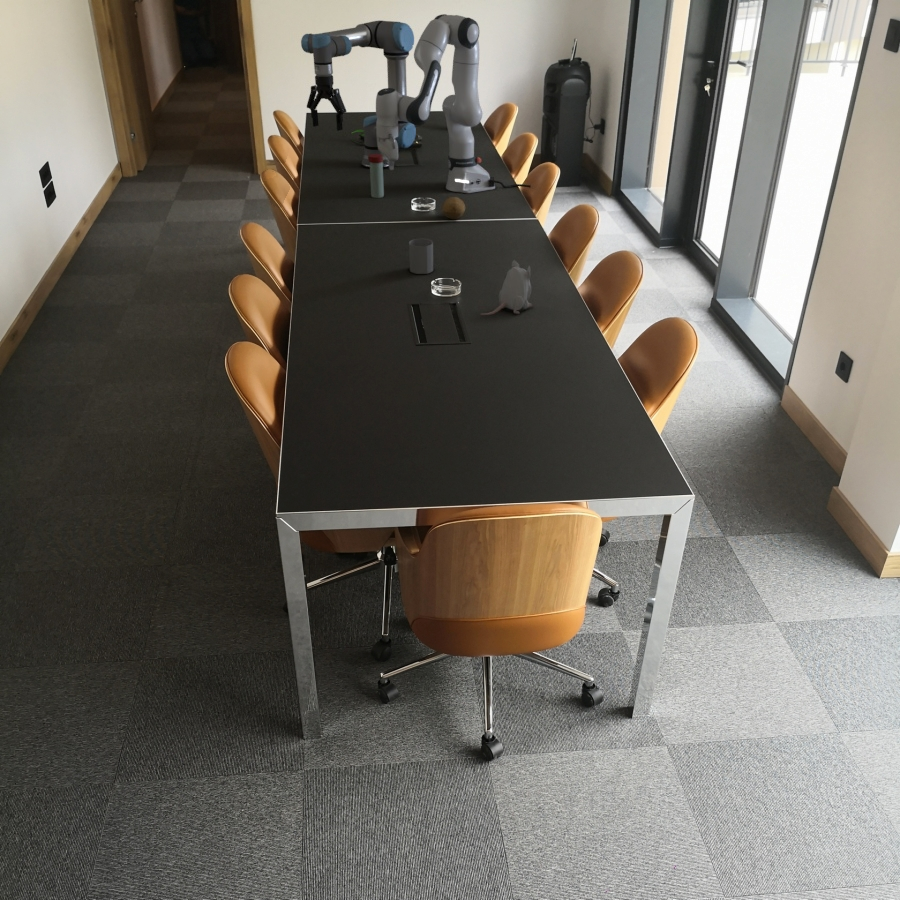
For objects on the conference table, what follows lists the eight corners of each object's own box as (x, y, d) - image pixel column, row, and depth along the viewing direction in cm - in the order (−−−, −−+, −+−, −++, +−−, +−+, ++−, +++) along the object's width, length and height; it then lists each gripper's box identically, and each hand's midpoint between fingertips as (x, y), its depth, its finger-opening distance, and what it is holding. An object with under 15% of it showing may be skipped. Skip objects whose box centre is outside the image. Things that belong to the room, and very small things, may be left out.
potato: (463, 212, 364) (464, 193, 359) (466, 223, 352) (466, 203, 348) (440, 212, 363) (440, 193, 359) (442, 223, 351) (442, 204, 347)
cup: (409, 265, 311) (408, 238, 306) (432, 265, 312) (431, 238, 307) (410, 274, 304) (409, 246, 299) (433, 273, 305) (433, 246, 299)
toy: (538, 306, 281) (541, 262, 273) (491, 329, 266) (492, 282, 258) (517, 299, 286) (519, 255, 278) (469, 320, 271) (470, 275, 263)
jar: (384, 194, 387) (382, 155, 377) (383, 197, 382) (381, 158, 373) (371, 194, 387) (370, 155, 377) (370, 197, 382) (368, 158, 373)
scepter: (406, 126, 467) (350, 124, 465) (406, 141, 460) (349, 139, 458) (405, 136, 472) (350, 133, 470) (405, 151, 465) (349, 149, 463)
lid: (383, 159, 379) (383, 153, 377) (382, 163, 373) (382, 157, 372) (369, 159, 379) (369, 153, 377) (368, 163, 373) (367, 157, 372)
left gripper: (295, 73, 364) (300, 125, 376) (340, 79, 352) (344, 133, 364) (307, 70, 369) (311, 122, 381) (352, 76, 358) (355, 130, 369)
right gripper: (401, 137, 344) (402, 172, 351) (388, 126, 360) (389, 160, 368) (386, 138, 342) (387, 173, 350) (373, 127, 358) (374, 161, 366)
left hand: (327, 128), depth 372 cm, fingers open, 13 cm apart
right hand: (388, 166), depth 359 cm, fingers open, 8 cm apart
